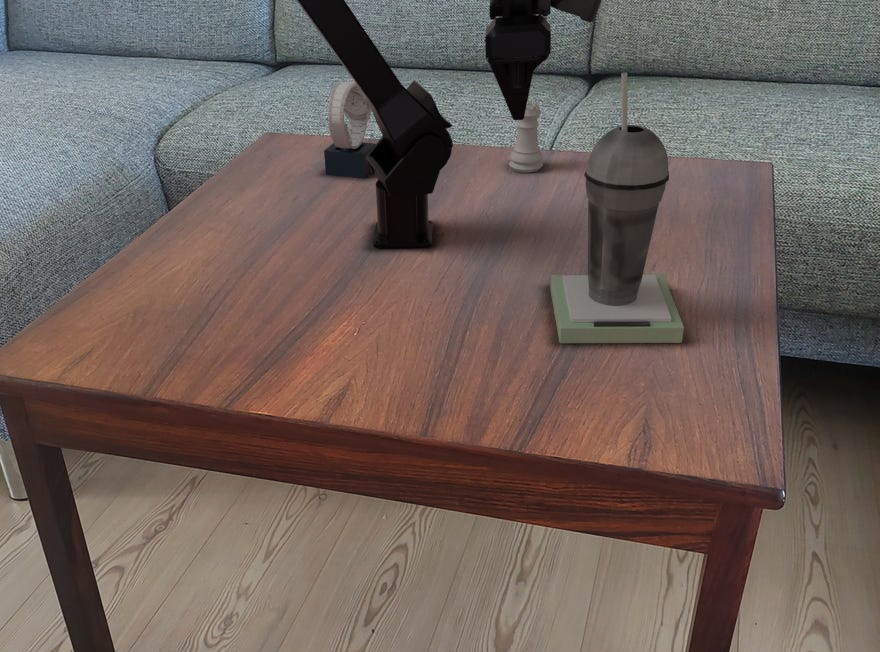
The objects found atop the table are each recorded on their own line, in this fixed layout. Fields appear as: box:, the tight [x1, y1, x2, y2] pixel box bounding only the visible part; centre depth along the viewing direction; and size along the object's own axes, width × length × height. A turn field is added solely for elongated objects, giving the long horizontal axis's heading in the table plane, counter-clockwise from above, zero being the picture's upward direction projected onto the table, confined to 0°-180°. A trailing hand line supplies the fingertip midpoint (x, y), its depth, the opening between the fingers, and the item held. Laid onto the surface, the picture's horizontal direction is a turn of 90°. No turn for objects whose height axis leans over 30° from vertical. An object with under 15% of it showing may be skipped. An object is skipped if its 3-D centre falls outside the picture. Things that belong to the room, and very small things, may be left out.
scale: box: [549, 273, 685, 344], centre depth 88 cm, size 11×11×2 cm
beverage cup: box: [583, 72, 670, 306], centre depth 82 cm, size 7×7×20 cm
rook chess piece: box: [508, 101, 544, 174], centre depth 120 cm, size 4×4×8 cm
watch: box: [323, 81, 377, 179], centre depth 120 cm, size 6×8×11 cm
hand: (518, 105), depth 100 cm, fingers open, 9 cm apart
